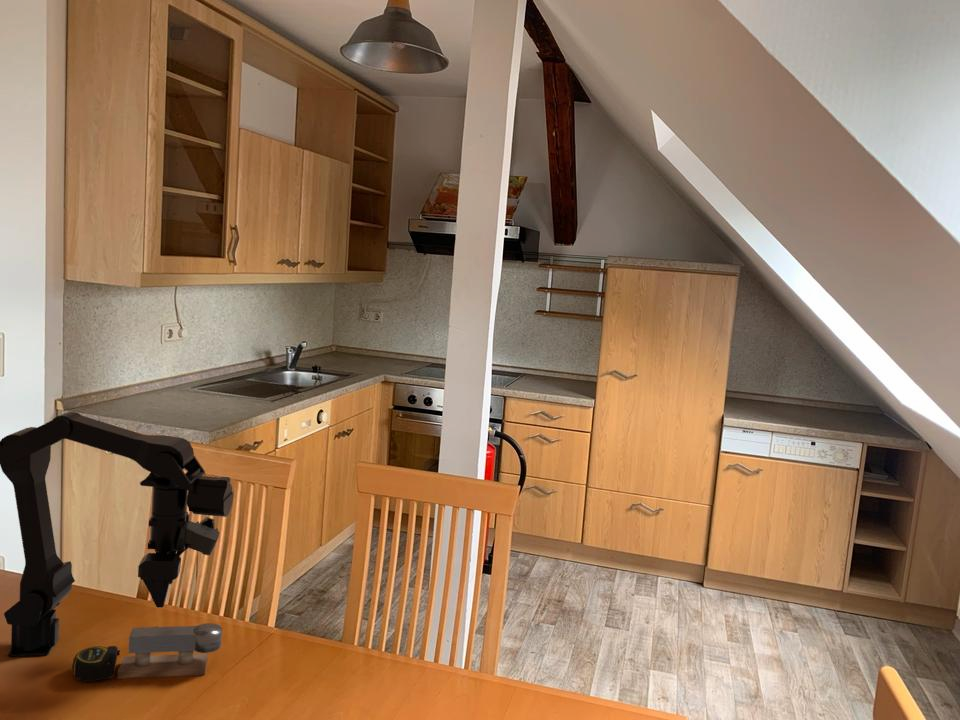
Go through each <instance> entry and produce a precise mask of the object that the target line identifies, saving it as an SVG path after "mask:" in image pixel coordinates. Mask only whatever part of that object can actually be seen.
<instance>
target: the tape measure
mask: <svg viewBox="0 0 960 720" xmlns="http://www.w3.org/2000/svg"><path fill="white" fill-rule="evenodd" d="M118 649H119V648H118V647H117V646H115V645H110V646H107V647H106V646H102V645H101V646H100V645H98V646H96V645H95V646H89V647H87V648H84V649H82V650H79V652H77V653H76V655H75V656H74V658H73V660H72V667H71V668H72V673H73V675H74V677H75V678H76V679H78V680H79V681H82V682H95V681H100V680H107V679H111V678H112V677H114V675H115V671H116V663H117V659H118V656H120V652H121V650H120V649H119V650H118Z"/></svg>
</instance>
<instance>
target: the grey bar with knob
mask: <svg viewBox="0 0 960 720" xmlns="http://www.w3.org/2000/svg"><path fill="white" fill-rule="evenodd" d="M222 634H223V627H222V626H221V625H220V624H217V623H212V622H210V623H207V622H206V623H202V624H198V625H181V626H180V625H179V626H177V625H175V626H144V627H141V626H140V627H132V628H131V631H130V634H129V637H128V654H135V653H150V652H151V653H169V652H170V653H174V652H175V653H176V652H178V653H179V651H193V652H197V653H199V654H210V653H213V652H216V651H218V650H219V649H220V648H221V647H222V637H223V636H222Z"/></svg>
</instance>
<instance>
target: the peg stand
mask: <svg viewBox="0 0 960 720" xmlns="http://www.w3.org/2000/svg"><path fill="white" fill-rule="evenodd" d="M151 653H152V652H150V653H134V655H129V656H128V655H126V656H125V655H124V656H123V657H122V659H121V662H120V665H119V668H118V670H117V679H127V678H126V677H132V678H131V679H133V677H137V679H139V678H138V677H140V678H160V677H183V676H184V677H186V676H205V674H206V669H207V665H208V658H209V657H208V655H209V653H194V651H178V654H159V655H158V654H154V655H153V654H152V655H151ZM124 677H125V678H124Z"/></svg>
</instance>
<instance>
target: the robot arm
mask: <svg viewBox="0 0 960 720" xmlns="http://www.w3.org/2000/svg"><path fill="white" fill-rule="evenodd" d="M62 440H69V441H72V442H75V443H79V444H81V445H85V446H89V447H91V448H94V449H95V448H96V449H98V450H101V451H105V452H108V453H110V454H115V455H118V456H120V457H123V458H128V459H130V460H132V461H134V462H136V463H137V465H139V466H140V467H141V468H142V469H143V470H146V471H147V472H150V473H149V474H148V476H146V478H144V479H143V480H141V481H140V482H139V484H140V486H141V487H152V496H151V497H152V498H151V515H150V518H149V519H148V527H150V535H149V537H150V538H149V541H148V542H147V550H154V551H155V552H148V553H146V554H145V555H144V556H143V557H142V558H141V560H140V562H139V564H138V567H137V568H138V569H137V577H138V578H140V580H142V581H143V583H144V585H145V587H146V589H147V591H148V593H149V595H150V597H151V599H152V601H153V602H154V603H153V604H154V605H155V607H156V608H164V606H165V602H166V598H167V594H168V591H169V587H170V585H172V584H173V582H174V580H176V579H177V578H178V577H179V575H180V572H181V565H182V558H181V555H182V554H183V553H184V552H185V551H186V550H188V549H190V550H193V551H196V552H199V553H201V554H202V555H204V556H211V555H212V553H213V550H214V548H215V546H216V544H217V542H218V540H219V538H220V537H219V536H220V531H219V528H217V527H216V526H215V525H216V522H215V519H214V518H212V517H221V518H226V517H228V516H229V515H230V513H231V512H232V511H231V510H232V506H233V503H234V502H233V501H234V494H235V493H234V492H233V486H232V484H231V478H230V477H229V476H218V477H217V476H209V475H205V474H206V471H205V469H204V468H203V466H202V465H201V463H200V462H199V460H198V459H197V458H196V456H195V452H194V448H193V446H192V445H191V442H190V441H189V440H188V439H185V437H179V436H172V435H164V434H163V435H162V434H155V435H154V434H153V435H152V434H151V435H150V434H143V433H139V432H136V431H133V430H130V429H127V428H123V427H120V426H117V425H113V424H110V423H108V422H103V421H101V420H98V419H95V418H91V417H88V416H84V415H82V414H80V413H79V412H76V411H68V412H64V413H61V414H60V415H57V416H55V417H54V418H52V420H49V421H48V422H45V423H44V424H41V425H40V426H38V427H34V426H29V427H25V428H23V429H20V430H18V431H16V432H13V433H10V434H8V435H6V436H4V437H3V438H1V439H0V469H1V471H2V473H3V474H4V475H5V477H6V478H7V479H8V480H9V481H10V483H12V486H13V491H14V497H15V503H16V509H17V510H16V511H17V515H18V516H17V517H18V523H19V529H20V536H21V541H22V547H23V554H24V555H23V556H24V561H25V562H24V563H25V564H24V568H23V571H22V575H21V579H20V582H19V599H18V600H19V601H17V602H16V603H15V604H14V605H12V606H11V607H10V608H8V609H7V610H6V611H4V613H3V616H4V618H5V621H6V623H7V625H11V634H10V635H11V636H10V637H11V640H10V643H11V644H10V645H11V646H10V648H9V650H8V652H7V656H8V657H22V656H23V657H24V656H25V657H26V656H47V655H49V654H50V653H51V651H52V649H53V647H55V646H56V644H57V642H58V641H59V637H60V636H59V635H60V634H59V632H60V629H59V628H60V619H59V617H57V615H56V614H57V610H56V607H58V606H59V605H60V604H61V602H62V601H63V600H64V599H65V598H66V597H67V596H68V595H69V594H70V592H71V591H72V586H73V583H75V582H76V580H75V578H74V576H73V574H72V573H73V572H72V571H73V569H72V568H73V566H72V561H65V562H64V561H63V560H61V558H60V557H59V556H58V555H57V550H56V542H55V536H54V530H53V529H54V528H53V521H52V516H51V510H50V505H49V504H50V503H49V497H48V489H47V483H46V475H47V471H48V469H49V466H50V462H51V457H52V456H51V451H52V449H51V447H52V445H55V444H57V443H59V442H60V441H62ZM184 470H185V471H187V472H184ZM187 509H188V510H187ZM189 512H192V514H194V515H201V516H202V515H203V516H206V517H205V518H204V519H202V520H201V521H196V522H194V521H190V516H191V515H190V514H189ZM210 516H212V517H210Z"/></svg>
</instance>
